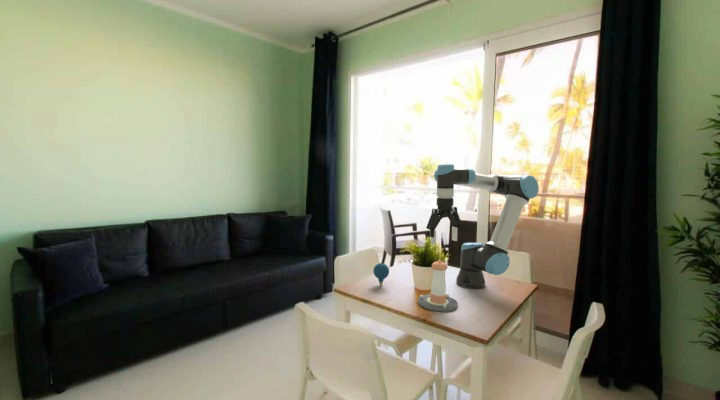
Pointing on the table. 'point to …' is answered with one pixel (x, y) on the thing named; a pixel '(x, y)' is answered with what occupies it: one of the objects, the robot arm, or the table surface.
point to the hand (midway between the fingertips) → (444, 242)
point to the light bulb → (381, 272)
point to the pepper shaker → (438, 283)
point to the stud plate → (445, 307)
